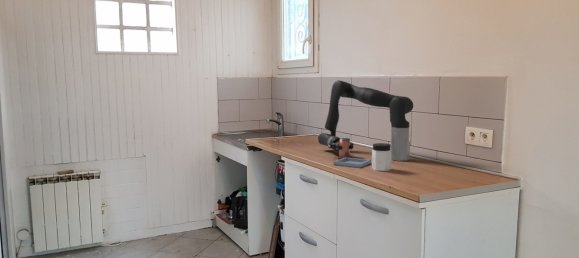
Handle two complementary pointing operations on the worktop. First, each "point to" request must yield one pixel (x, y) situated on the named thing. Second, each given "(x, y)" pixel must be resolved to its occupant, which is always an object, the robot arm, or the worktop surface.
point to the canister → (344, 148)
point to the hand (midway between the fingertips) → (346, 147)
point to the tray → (352, 162)
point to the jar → (381, 157)
